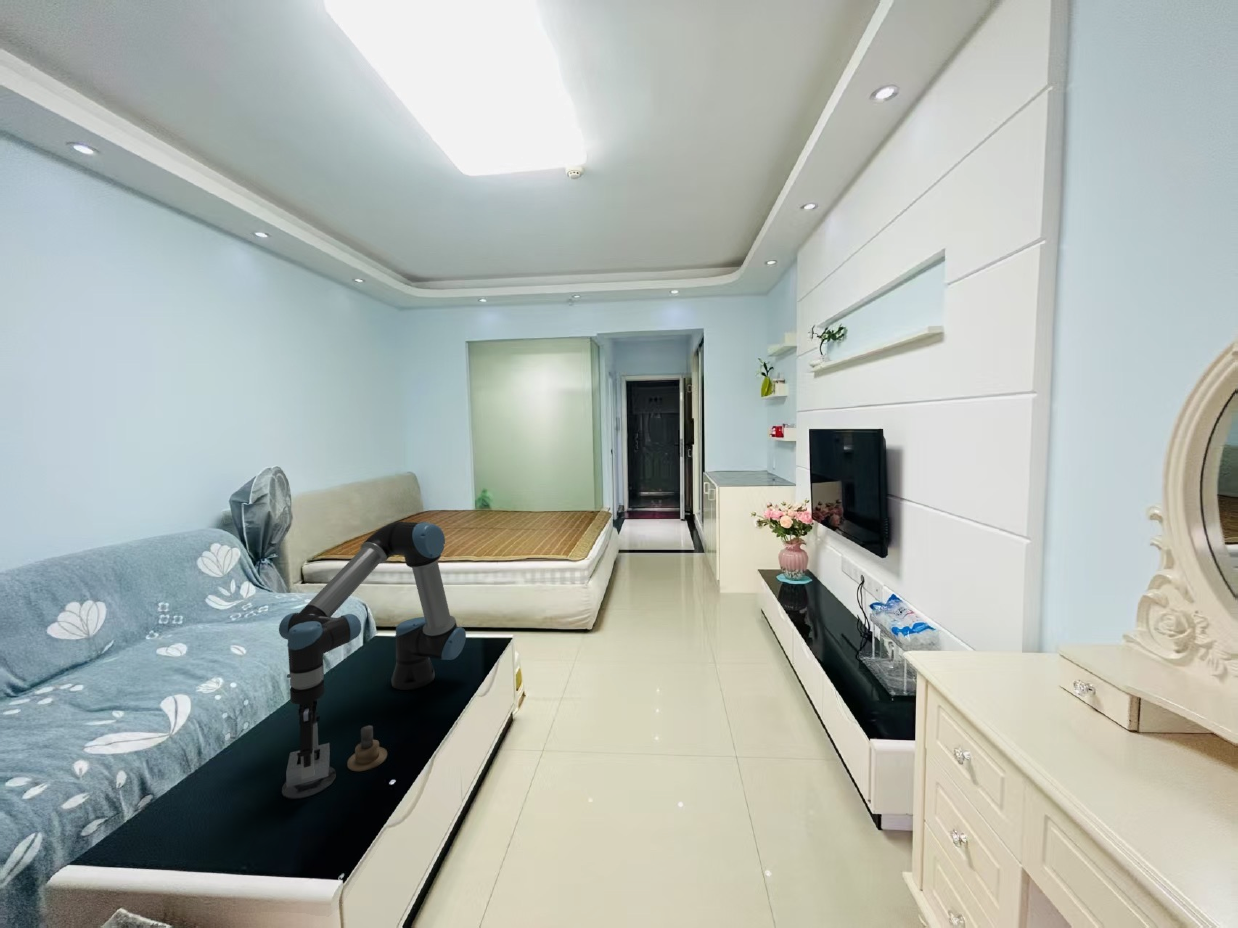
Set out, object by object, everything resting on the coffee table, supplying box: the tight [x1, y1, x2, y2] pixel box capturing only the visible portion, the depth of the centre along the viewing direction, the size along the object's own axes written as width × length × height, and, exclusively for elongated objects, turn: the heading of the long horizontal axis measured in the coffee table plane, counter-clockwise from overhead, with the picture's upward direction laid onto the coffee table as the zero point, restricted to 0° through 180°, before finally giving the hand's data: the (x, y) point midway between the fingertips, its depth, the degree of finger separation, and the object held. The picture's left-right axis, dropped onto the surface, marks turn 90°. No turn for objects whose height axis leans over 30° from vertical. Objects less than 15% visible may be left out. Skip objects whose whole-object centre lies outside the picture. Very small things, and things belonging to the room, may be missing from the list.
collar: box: [285, 742, 331, 788], centre depth 128 cm, size 9×9×4 cm
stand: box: [346, 725, 388, 772], centre depth 138 cm, size 10×10×9 cm
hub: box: [281, 746, 337, 800], centre depth 128 cm, size 12×12×10 cm
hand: (310, 761), depth 128 cm, fingers open, 13 cm apart
